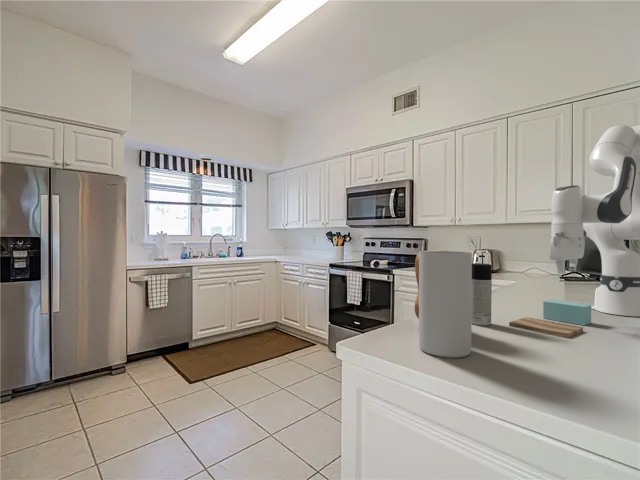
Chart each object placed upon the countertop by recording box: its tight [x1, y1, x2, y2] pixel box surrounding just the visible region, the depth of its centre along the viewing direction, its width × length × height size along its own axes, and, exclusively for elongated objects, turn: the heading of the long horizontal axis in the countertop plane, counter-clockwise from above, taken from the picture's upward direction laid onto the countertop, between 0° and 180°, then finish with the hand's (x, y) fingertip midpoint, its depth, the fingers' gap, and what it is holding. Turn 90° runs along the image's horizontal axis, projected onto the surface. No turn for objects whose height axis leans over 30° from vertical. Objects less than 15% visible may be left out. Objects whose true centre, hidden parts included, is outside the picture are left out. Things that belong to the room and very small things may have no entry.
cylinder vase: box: [418, 250, 473, 359], centre depth 84 cm, size 12×12×25 cm
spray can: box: [471, 262, 493, 327], centre depth 111 cm, size 7×7×20 cm
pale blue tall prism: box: [542, 299, 592, 326], centre depth 115 cm, size 6×12×6 cm, turn 35°
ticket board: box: [508, 316, 584, 339], centre depth 105 cm, size 12×16×1 cm
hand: (567, 272), depth 115 cm, fingers open, 8 cm apart
